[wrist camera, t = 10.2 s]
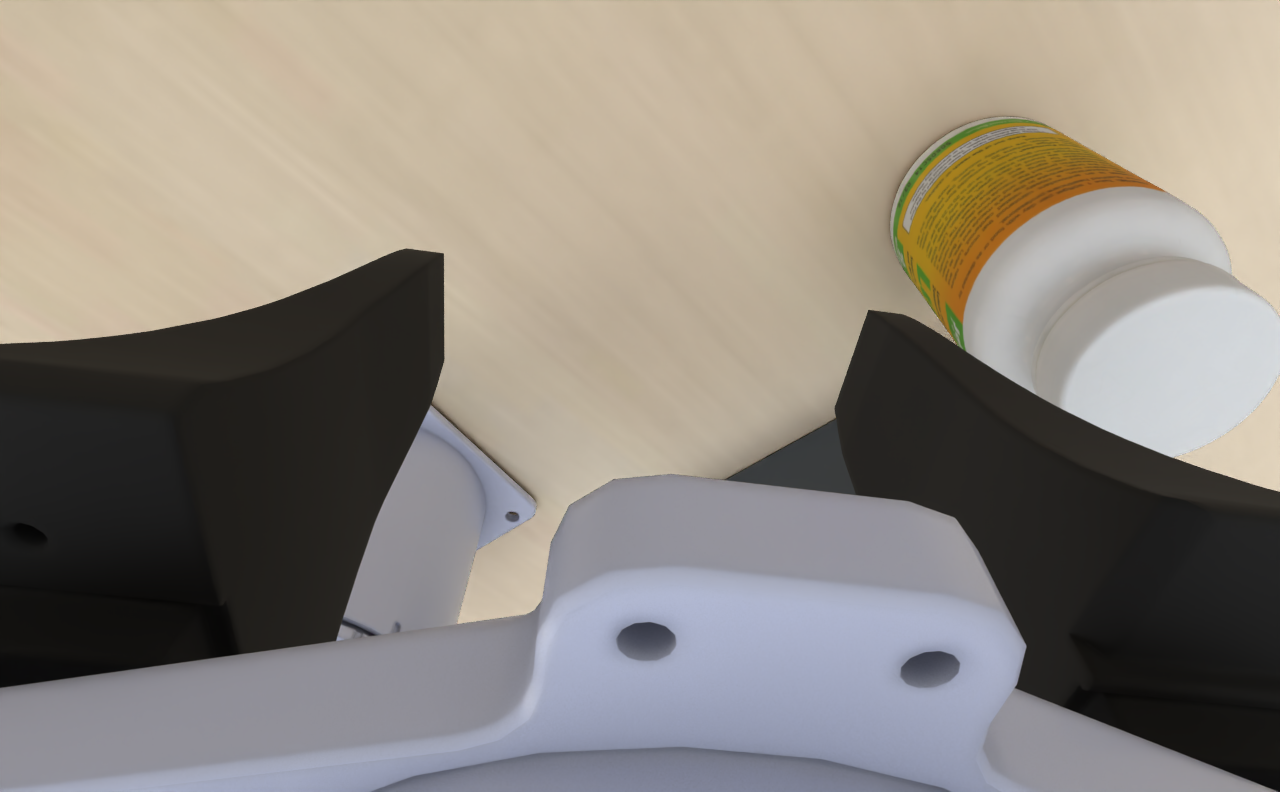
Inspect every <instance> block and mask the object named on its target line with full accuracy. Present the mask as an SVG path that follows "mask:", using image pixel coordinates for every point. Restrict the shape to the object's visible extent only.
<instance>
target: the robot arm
mask: <svg viewBox="0 0 1280 792" xmlns="http://www.w3.org/2000/svg"><path fill="white" fill-rule="evenodd" d="M443 363H444V253H436V252H428V251H421V250H413V249H403V250H399V251H396V252H393V253H391V254H388V255H386V256H384V257H381V258H379V259H377V260H375V261H372V262H370V263H368V264H366V265H364V266H361V267H359V268H357V269H355V270H352V271H350V272H348V273H346V274H343V275H341V276H339V277H337V278H335V279H332V280H330V281H328V282H325V283H322V284H320V285H317V286H315V287H312V288H310V289H307V290H304V291H302V292H299V293H297V294H294V295H292V296H289V297H286V298H284V299H281V300H278V301H275V302H272V303H269V304H266V305H263V306H260V307H257V308H253V309H250V310H246V311H242V312H239V313H235V314H231V315H228V316H224V317H220V318H216V319H211V320H206V321H201V322H196V323H190V324H185V325H180V326H175V327H170V328H165V329H159V330H154V331H148V332H141V333H133V334H126V335H118V336H110V337H100V338H90V339H80V340H69V341H56V342H36V343H11V344H0V792H1280V492H1278V491H1274V490H1270V489H1267V488H1263V487H1260V486H1256V485H1253V484H1249V483H1246V482H1243V481H1240V480H1237V479H1234V478H1231V477H1228V476H1225V475H1222V474H1218V473H1215V472H1212V471H1209V470H1206V469H1203V468H1200V467H1197V466H1194V465H1192V464H1189V463H1186V462H1183V461H1180V460H1178V459H1175V458H1172V457H1169V456H1167V455H1164V454H1162V453H1159V452H1157V451H1154V450H1152V449H1149V448H1147V447H1144V446H1142V445H1139V444H1137V443H1134V442H1132V441H1129V440H1127V439H1124V438H1122V437H1120V436H1118V435H1115V434H1113V433H1111V432H1108V431H1106V430H1104V429H1102V428H1100V427H1098V426H1095V425H1093V424H1091V423H1089V422H1087V421H1085V420H1083V419H1081V418H1079V417H1077V416H1075V415H1073V414H1071V413H1069V412H1067V411H1065V410H1063V409H1061V408H1059V407H1057V406H1055V405H1053V404H1052V403H1050V402H1048V401H1046V400H1044V399H1042V398H1041V397H1039V396H1037V395H1036V394H1034V393H1032V392H1030V391H1029V390H1027V389H1025V388H1024V387H1022V386H1020V385H1018V384H1017V383H1015V382H1013V381H1012V380H1010V379H1008V378H1007V377H1005V376H1004V375H1002V374H1000V373H999V372H997V371H996V370H994V369H992V368H991V367H989V366H988V365H986V364H985V363H983V362H981V361H980V360H978V359H977V358H975V357H974V356H972V355H971V354H969V353H968V352H966V351H965V350H963V349H962V348H960V347H959V346H957V345H955V344H954V343H952V342H951V341H949V340H948V339H946V338H945V337H943V336H942V335H940V334H939V333H937V332H935V331H934V330H932V329H930V328H929V327H927V326H925V325H924V324H922V323H920V322H918V321H916V320H915V319H913V318H910V317H908V316H906V315H903V314H896V313H888V312H881V311H873V310H868V313H867V316H866V319H865V321H864V324H863V327H862V330H861V333H860V336H859V339H858V342H857V345H856V348H855V350H854V353H853V356H852V359H851V362H850V365H849V368H848V371H847V374H846V376H845V379H844V382H843V385H842V388H841V391H840V394H839V397H838V400H837V402H836V405H835V414H836V421H837V428H838V434H839V439H840V445H841V450H842V455H843V458H844V461H845V464H846V467H847V470H848V473H849V476H850V479H851V482H852V484H853V487H854V490H855V493H856V495H850V494H841V493H832V492H823V491H815V490H806V489H797V488H788V487H780V486H771V485H762V484H753V483H745V482H736V481H727V480H719V479H710V478H701V477H692V476H684V475H675V474H667V475H655V476H644V477H633V478H622V479H613V480H612V481H610V482H608V483H606V484H605V485H603V486H601V487H600V488H598V489H596V490H594V491H593V492H591V493H589V494H588V495H586V496H584V497H583V498H581V499H579V500H577V501H576V502H574V503H572V504H571V505H569V507H568V509H567V511H566V513H565V515H564V517H563V519H562V521H561V523H560V525H559V527H558V529H557V531H556V533H555V535H554V537H553V539H552V541H551V545H550V552H549V559H548V565H547V572H546V579H545V585H544V592H543V598H542V601H541V602H540V604H539V605H538V606H537V608H536V609H535V610H534V611H532V612H530V613H528V614H526V615H519V616H512V617H505V618H498V619H490V620H483V621H476V622H469V623H462V624H457V621H458V617H459V613H460V610H461V606H462V602H463V598H464V594H465V591H466V587H467V583H468V579H469V575H470V572H471V568H472V564H473V560H474V556H475V553H476V550H478V549H480V548H482V547H483V546H485V545H487V544H488V543H490V542H492V541H493V540H495V539H497V538H498V537H500V536H502V535H503V534H505V533H507V532H509V531H510V530H512V529H514V528H515V527H517V526H519V525H520V524H522V523H524V522H525V521H527V520H529V519H531V518H532V517H533V516H534V515H535V512H536V507H537V505H536V502H535V500H534V499H533V498H532V497H531V496H530V495H529V494H528V493H527V492H525V491H524V490H523V489H522V488H521V487H520V486H519V485H518V484H517V483H516V482H515V481H513V480H512V479H511V478H510V477H509V476H508V475H507V474H506V473H505V472H504V471H502V470H501V469H500V468H499V467H498V466H497V465H496V464H495V463H494V462H493V461H492V460H490V459H489V458H488V457H487V456H486V455H485V454H484V453H483V452H482V451H481V450H480V449H478V448H477V447H476V446H475V445H474V444H473V443H472V442H471V441H470V440H469V439H468V438H466V437H465V436H464V435H463V434H462V433H461V432H460V431H459V430H458V429H457V428H456V427H454V426H453V425H452V424H451V423H450V422H449V421H448V420H447V419H446V418H445V417H444V416H442V415H441V414H440V413H439V412H438V411H437V410H436V409H435V408H434V407H433V406H432V405H431V403H432V399H433V396H434V393H435V390H436V387H437V384H438V380H439V377H440V373H441V370H442V366H443ZM508 512H515V513H517V515H512V514H510V513H508Z"/></svg>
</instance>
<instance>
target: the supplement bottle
mask: <svg viewBox="0 0 1280 792" xmlns="http://www.w3.org/2000/svg"><path fill="white" fill-rule="evenodd" d="M890 233H891V240H892V245H893V249H894V251H895V254H896V256H897V258H898V260H899V262H900V264H901V266H902V267H903V269H904V271H905V272H906V274H907V275H908V276H909V278H910V279H911V280H912V282H913V283H914V285H915V286H916V287H917V289H918V290H919V291H920V293H921V294H922V296H923V297H924V298H925V300H926V301H927V303H928V304H929V305H930V307H931V308H932V310H933V311H934V312H935V314H936V315H937V317H938V318H939V319H940V321H941V322H942V323H943V325H944V326H945V328H946V329H947V331H948V332H949V333H950V335H951V336H952V338H953V339H954V341H955V342H956V343H957V345H958V346H959V347H960V348H962V349H963V350H965V351H966V352H968V353H969V354H971V355H972V356H974V357H975V358H977V359H978V360H980V361H981V362H983V363H985V364H986V365H988V366H989V367H991V368H992V369H994V370H996V371H997V372H999V373H1000V374H1002V375H1004V376H1005V377H1007V378H1008V379H1010V380H1012V381H1013V382H1015V383H1017V384H1018V385H1020V386H1022V387H1024V388H1025V389H1027V390H1029V391H1030V392H1032V393H1034V394H1036V395H1037V396H1039V397H1041V398H1042V399H1044V400H1046V401H1048V402H1050V403H1052V404H1053V405H1055V406H1057V407H1059V408H1061V409H1063V410H1065V411H1067V412H1069V413H1071V414H1073V415H1075V416H1077V417H1079V418H1081V419H1083V420H1085V421H1087V422H1089V423H1091V424H1093V425H1095V426H1098V427H1100V428H1102V429H1104V430H1106V431H1108V432H1111V433H1113V434H1115V435H1118V436H1120V437H1122V438H1124V439H1127V440H1129V441H1132V442H1134V443H1137V444H1139V445H1142V446H1144V447H1147V448H1149V449H1152V450H1154V451H1157V452H1159V453H1162V454H1164V455H1167V456H1169V457H1172V458H1173V457H1176V456H1179V455H1183V454H1185V453H1188V452H1191V451H1193V450H1196V449H1198V448H1200V447H1203V446H1205V445H1207V444H1209V443H1211V442H1212V441H1214V440H1216V439H1217V438H1219V437H1221V436H1222V435H1224V434H1226V433H1227V432H1229V431H1230V430H1231V429H1233V428H1234V427H1236V426H1237V425H1238V424H1239V423H1241V422H1242V421H1243V420H1244V419H1245V418H1246V417H1247V416H1249V415H1250V414H1251V413H1252V412H1253V411H1254V410H1255V409H1256V408H1257V407H1258V405H1259V404H1260V403H1261V402H1262V401H1263V399H1264V398H1265V397H1266V396H1267V394H1268V393H1269V392H1270V390H1271V388H1272V387H1273V385H1274V383H1275V381H1276V380H1277V378H1278V376H1279V374H1280V317H1279V315H1278V313H1277V312H1276V310H1275V309H1274V308H1273V307H1272V305H1271V304H1270V303H1269V302H1268V301H1267V300H1265V299H1264V298H1263V297H1261V296H1260V295H1259V294H1257V293H1256V292H1254V291H1253V290H1251V289H1250V288H1248V287H1247V286H1245V285H1244V284H1242V283H1241V282H1240V281H1239V280H1237V279H1236V278H1235V277H1234V276H1233V275H1232V268H1231V262H1230V258H1229V254H1228V251H1227V248H1226V246H1225V244H1224V242H1223V240H1222V238H1221V236H1220V235H1219V233H1218V231H1217V230H1216V229H1215V227H1214V226H1213V225H1212V224H1211V222H1210V221H1209V220H1208V219H1206V218H1205V217H1204V216H1203V215H1202V214H1201V213H1199V212H1198V211H1197V210H1196V209H1194V208H1193V207H1191V206H1189V205H1188V204H1186V203H1185V202H1183V201H1181V200H1180V199H1178V198H1176V197H1175V196H1173V195H1171V194H1170V193H1168V192H1166V191H1164V190H1162V189H1161V188H1159V187H1157V186H1155V185H1153V184H1151V183H1149V182H1148V181H1146V180H1144V179H1142V178H1140V177H1139V176H1137V175H1135V174H1133V173H1131V172H1130V171H1128V170H1126V169H1124V168H1123V167H1121V166H1119V165H1117V164H1115V163H1114V162H1112V161H1110V160H1108V159H1107V158H1105V157H1103V156H1101V155H1100V154H1098V153H1096V152H1094V151H1093V150H1091V149H1089V148H1087V147H1086V146H1084V145H1082V144H1080V143H1078V142H1077V141H1075V140H1073V139H1071V138H1069V137H1068V136H1066V135H1064V134H1062V133H1061V132H1059V131H1057V130H1055V129H1053V128H1051V127H1049V126H1047V125H1045V124H1043V123H1040V122H1038V121H1034V120H1031V119H1026V118H1021V117H994V118H987V119H982V120H979V121H975V122H972V123H969V124H967V125H964V126H962V127H960V128H958V129H956V130H954V131H952V132H950V133H948V134H947V135H945V136H944V137H942V138H941V139H939V140H938V141H937V142H935V143H934V144H933V145H932V146H931V147H929V148H928V149H927V150H926V151H925V152H924V153H923V154H922V155H921V156H920V157H919V158H918V160H917V161H916V162H915V163H914V164H913V166H912V167H911V168H910V170H909V171H908V173H907V174H906V176H905V177H904V179H903V181H902V183H901V185H900V187H899V190H898V192H897V194H896V197H895V200H894V203H893V207H892V212H891V220H890Z"/></svg>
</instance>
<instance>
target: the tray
mask: <svg viewBox="0 0 1280 792" xmlns="http://www.w3.org/2000/svg"><path fill="white" fill-rule="evenodd" d="M726 480H727V481H736V482H745V483H753V484H762V485H771V486H780V487H788V488H797V489H806V490H815V491H823V492H832V493H841V494H850V495H856V493H855V490H854V487H853V484H852V482H851V479H850V476H849V473H848V470H847V467H846V464H845V461H844V458H843V455H842V450H841V445H840V439H839V434H838V428H837V421H836V419H835V420H834V421H832V422H830V423H828V424H826V425H825V426H823V427H821V428H819V429H817V430H815V431H814V432H812V433H810V434H808V435H806V436H805V437H803V438H801V439H799V440H797V441H795V442H794V443H792V444H790V445H788V446H786V447H785V448H783V449H781V450H779V451H777V452H776V453H774V454H772V455H770V456H768V457H766V458H765V459H763V460H761V461H759V462H757V463H756V464H754V465H752V466H750V467H748V468H746V469H745V470H743V471H741V472H739V473H737V474H736V475H734V476H732V477H730V478H728V479H726Z"/></svg>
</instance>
